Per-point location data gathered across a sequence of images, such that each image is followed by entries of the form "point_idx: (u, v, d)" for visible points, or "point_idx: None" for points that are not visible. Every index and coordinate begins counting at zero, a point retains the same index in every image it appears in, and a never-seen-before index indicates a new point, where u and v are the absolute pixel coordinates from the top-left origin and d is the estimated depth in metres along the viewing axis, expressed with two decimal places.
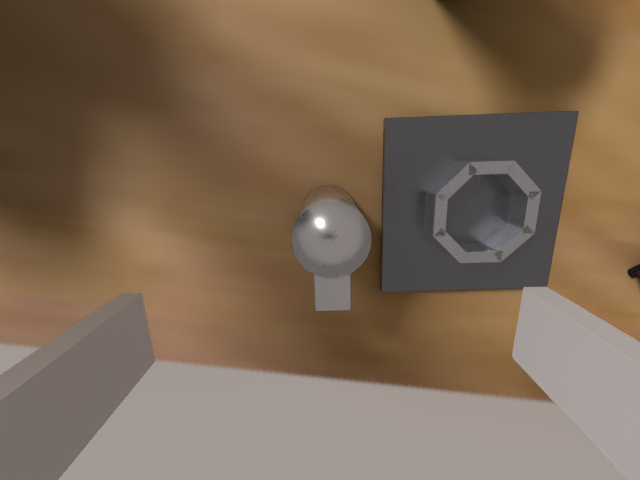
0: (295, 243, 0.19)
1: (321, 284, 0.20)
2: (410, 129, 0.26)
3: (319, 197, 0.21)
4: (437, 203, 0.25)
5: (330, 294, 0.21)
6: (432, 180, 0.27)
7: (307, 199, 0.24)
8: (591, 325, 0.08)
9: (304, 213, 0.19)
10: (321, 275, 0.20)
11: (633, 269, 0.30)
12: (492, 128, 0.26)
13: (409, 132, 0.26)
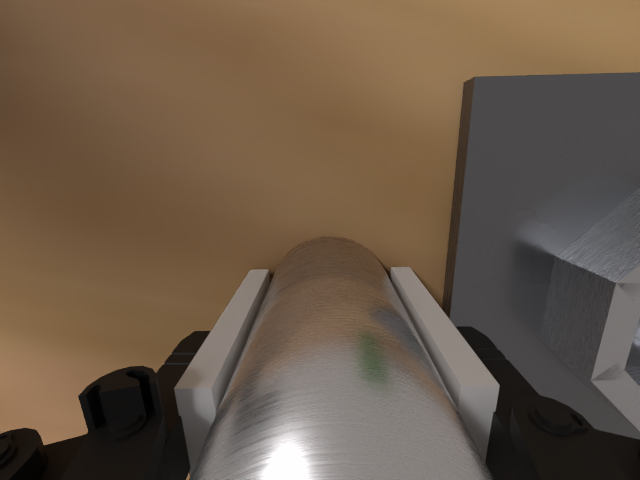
0: None
1: None
2: (535, 107, 0.10)
3: (297, 355, 0.05)
4: (616, 303, 0.09)
5: None
6: (573, 232, 0.11)
7: (272, 298, 0.09)
8: (414, 293, 0.10)
9: None
10: None
11: None
12: None
13: (533, 115, 0.10)
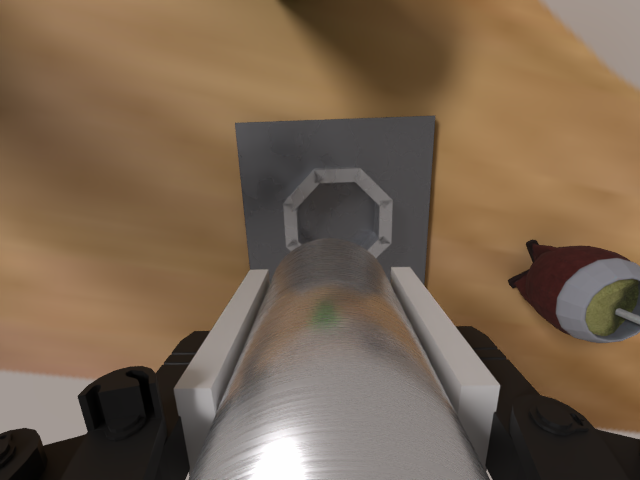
0: None
1: None
2: (262, 134, 0.25)
3: (295, 359, 0.05)
4: (285, 212, 0.24)
5: None
6: (292, 188, 0.26)
7: (270, 300, 0.09)
8: (414, 293, 0.10)
9: None
10: None
11: (512, 279, 0.29)
12: (348, 134, 0.25)
13: (262, 138, 0.25)
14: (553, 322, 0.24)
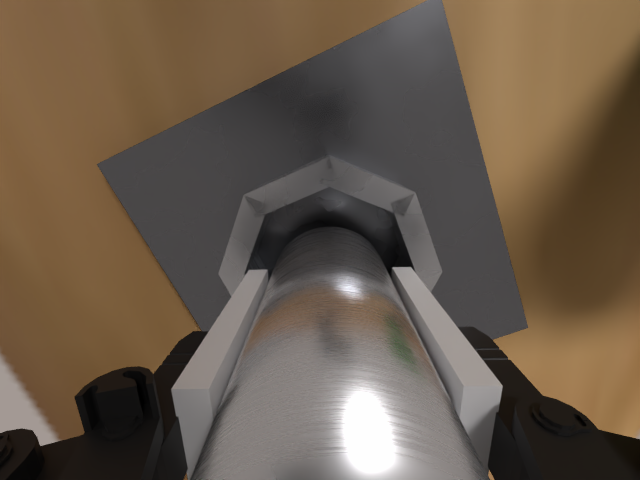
0: None
1: None
2: (431, 63, 0.12)
3: (298, 329, 0.06)
4: (313, 168, 0.11)
5: None
6: (351, 157, 0.14)
7: (275, 283, 0.09)
8: (415, 293, 0.10)
9: None
10: None
11: None
12: (472, 218, 0.14)
13: (425, 64, 0.12)
14: None
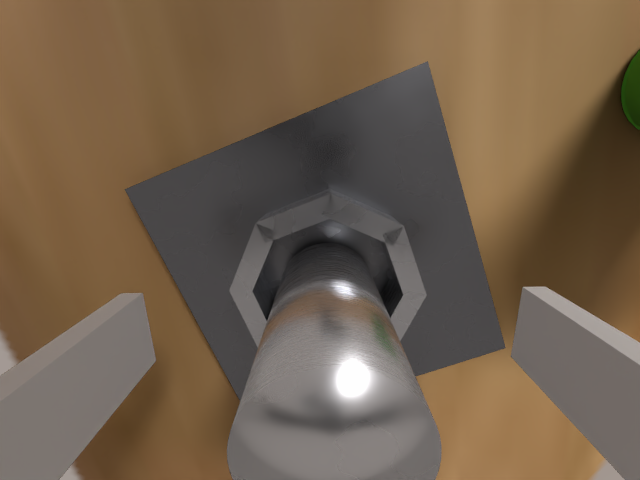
0: (239, 463, 0.07)
1: None
2: (420, 116, 0.15)
3: (306, 312, 0.09)
4: (317, 202, 0.13)
5: None
6: (350, 191, 0.15)
7: (285, 286, 0.12)
8: (590, 325, 0.08)
9: (260, 395, 0.07)
10: None
11: None
12: (454, 247, 0.16)
13: (415, 117, 0.15)
14: None
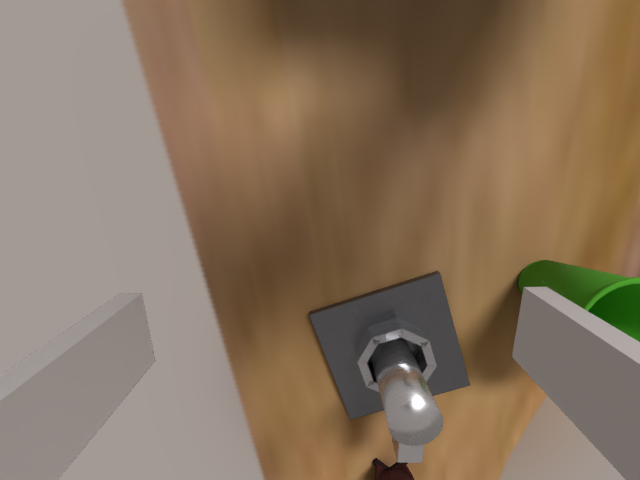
0: (391, 424, 0.28)
1: (403, 446, 0.29)
2: (436, 292, 0.36)
3: (402, 381, 0.30)
4: (396, 331, 0.34)
5: (409, 452, 0.30)
6: (405, 318, 0.37)
7: (385, 364, 0.33)
8: (591, 325, 0.08)
9: (399, 407, 0.28)
10: (406, 444, 0.29)
11: (378, 461, 0.42)
12: (448, 342, 0.37)
13: (433, 292, 0.36)
14: None
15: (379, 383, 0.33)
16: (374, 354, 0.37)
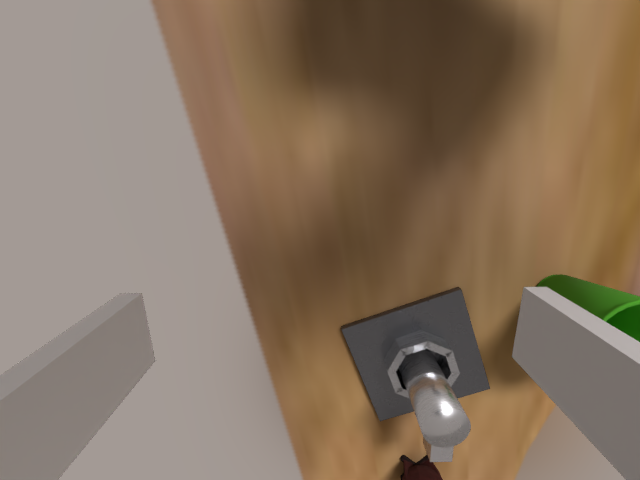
0: (424, 429, 0.32)
1: (435, 448, 0.33)
2: (457, 306, 0.39)
3: (432, 390, 0.34)
4: (422, 343, 0.38)
5: (440, 453, 0.33)
6: (429, 330, 0.40)
7: (413, 374, 0.37)
8: (591, 325, 0.08)
9: (431, 415, 0.31)
10: (438, 446, 0.32)
11: (405, 457, 0.46)
12: (469, 350, 0.41)
13: (455, 306, 0.39)
14: None
15: (409, 391, 0.36)
16: (401, 363, 0.40)
